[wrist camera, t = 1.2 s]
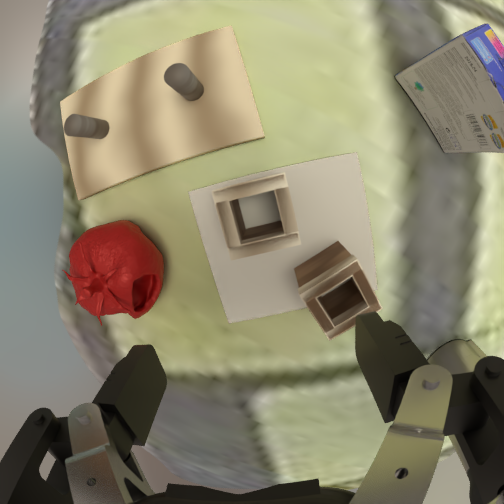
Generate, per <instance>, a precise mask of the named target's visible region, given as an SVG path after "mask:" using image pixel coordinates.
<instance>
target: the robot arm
mask: <svg viewBox="0 0 504 504" xmlns="http://www.w3.org/2000/svg"><path fill="white" fill-rule="evenodd" d="M355 350H356V357H357V361H358V363H359V366H360V368H361V370H362V372H363V374H364V376H365V379H366V381H367V383H368V385H369V388H370V390H371V392H372V394H373V397H374V399H375V401H376V403H377V406H378V408H379V410H380V413H381V415H382V417H383V420H384V422H385V423H388V422H391V421H394V422H393V425H392V426H390V428H389V430H388V432H387V434H386V436H385V438H384V441H383V443H382V445H381V447H380V449H379V451H378V453H377V455H376V457H375V459H374V461H373V463H372V465H371V467H370V469H369V471H368V472H367V474H366V476H365V478H364V480H363V481H362V483H361V485H360V487H359V488H358V490H357V492H356V493H354V492H351V491H348V490H344V489H339V488H332V487H320V486H319V480H318V479H313V480H307V481H300V482H293V483H285V484H278V485H275V486H271V487H268V488H264V489H260V490H257V491H253V492H249V493H245V494H232V493H227V492H223V491H219V490H214V489H210V488H207V487H203V486H191V485H179V484H169V483H168V485H167V490H166V492H163V493H157V494H155V493H154V492H153V490H152V489H151V487H150V486H149V484H148V482H147V480H146V478H145V476H144V474H143V472H142V470H141V468H140V466H139V464H138V462H137V459H136V457H135V455H134V453H133V452H132V451H131V448H132V445H139V446H145V443H146V440H147V437H148V434H149V432H150V429H151V426H152V423H153V421H154V418H155V415H156V413H157V410H158V407H159V405H160V402H161V399H162V397H163V394H164V392H165V389H166V385H167V379H166V374H165V372H164V369H163V367H162V365H161V363H160V361H159V358H158V356H157V354H156V351H155V349H154V347H153V346H152V345H134V346H133V347H132V348H131V350H130V351H129V353H128V354H127V356H126V357H124V358H123V359H122V360H121V361H120V362H118V363H117V364H116V365H115V367H114V368H113V370H112V371H111V374H109V376H108V378H107V379H106V380H107V381H105V382H104V384H103V386H102V387H101V389H100V391H99V392H98V394H97V395H96V397H95V398H94V400H93V402H92V403H84V404H81V405H79V406H77V407H76V408H74V409H73V410H72V411H71V412H70V414H69V416H68V417H60V418H56V417H55V415H54V414H53V413H52V411H51V410H50V409H48V408H40V409H37V410H35V411H34V412H33V413H31V414H30V415H29V417H28V418H27V420H26V421H25V423H24V424H23V426H22V428H21V429H20V431H19V432H18V434H17V435H16V437H15V439H14V440H13V442H12V443H11V445H10V447H9V448H8V450H7V452H6V453H5V455H4V457H3V458H2V460H1V462H0V504H422V503H423V501H424V498H425V496H426V493H427V491H428V488H429V486H430V483H431V480H432V478H433V475H434V472H435V469H436V466H437V463H438V459H439V456H440V453H441V449H442V446H443V442H444V436H449V438H450V440H451V442H452V444H453V446H454V448H455V450H456V452H457V454H458V456H459V458H460V460H461V462H462V465H463V467H464V469H465V471H466V473H467V476H468V478H469V481H470V493H469V494H470V502H471V504H504V360H503V359H502V358H499V357H496V356H486V355H485V354H484V353H483V351H482V350H481V349H480V348H479V347H478V346H477V345H476V344H475V343H474V342H473V341H472V340H470V341H467V342H466V341H463V340H454V341H451V342H449V343H447V344H445V345H444V346H442V347H441V348H439V349H438V350H437V351H436V352H435V353H434V354H433V355H432V356H431V357H430V358H429V359H428V360H426V358H425V357H424V356H423V354H422V353H421V352H420V350H419V349H418V348H417V347H416V345H415V344H414V343H413V342H412V341H411V339H410V338H409V336H408V335H406V333H405V331H404V330H403V329H402V327H401V326H400V325H398V324H396V323H394V322H392V321H390V320H389V321H385V322H384V321H383V320H382V319H381V317H380V316H379V315H378V313H377V312H376V311H373V312H369V313H364V314H360V315H357V316H356V319H355ZM47 451H49V453H50V454H51V455H52V456H53V457H54V458H55V459H56V461H55V463H54V465H53V467H52V469H51V471H50V474H49V476H48V478H47V480H46V481H45V480H44V479H43V478H42V477H41V476H40V473H39V467H40V465H41V463H42V460H43V458H44V457H45V455H46V453H47Z"/></svg>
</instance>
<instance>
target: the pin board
mask: <svg viewBox="0 0 504 504" xmlns="http://www.w3.org/2000/svg"><path fill="white" fill-rule="evenodd" d="M60 104H61V113H62V121H63V128H64V134H65V140H66V146H67V152H68V157H69V162H70V167H71V171H72V176H73V180H74V184H75V188H76V192H77V196H78V200H82V199H86V198H88V197H90V196H92V195H94V194H97V193H99V192H101V191H104V190H106V189H108V188H111V187H113V186H116V185H118V184H121V183H123V182H126V181H128V180H131V179H133V178H136V177H138V176H141V175H144V174H146V173H149V172H152V171H155V170H157V169H160V168H163V167H166V166H169V165H172V164H175V163H178V162H181V161H184V160H187V159H190V158H193V157H196V156H199V155H203V154H206V153H209V152H213V151H216V150H220V149H223V148H227V147H230V146H234V145H238V144H242V143H246V142H249V141H253V140H258V139H262V138H265V136H264V133H263V129H262V125H261V122H260V118H259V114H258V111H257V107H256V104H255V100H254V97H253V93H252V90H251V86H250V83H249V80H248V76H247V73H246V70H245V66H244V63H243V60H242V56H241V53H240V50H239V47H238V44H237V41H236V37H235V34H234V31H233V28H232V26H228V27H224V28H220V29H216V30H213V31H209V32H206V33H203V34H199V35H196V36H193V37H190V38H187V39H184V40H181V41H179V42H176V43H173V44H170V45H168V46H165V47H163V48H160V49H158V50H155V51H153V52H151V53H148V54H146V55H144V56H141V57H139V58H137V59H135V60H133V61H131V62H129V63H126V64H124V65H122V66H120V67H118V68H116V69H114V70H113V71H111V72H109V73H107V74H105V75H103V76H101V77H100V78H98V79H96V80H94V81H93V82H91V83H89V84H88V85H86V86H84V87H83V88H81V89H79V90H78V91H76V92H75V93H73V94H71V95H70V96H68V97H67V98H65V99H64V100H62V101H61V102H60Z"/></svg>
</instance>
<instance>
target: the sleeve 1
mask: <svg viewBox="0 0 504 504" xmlns="http://www.w3.org/2000/svg"><path fill="white" fill-rule="evenodd" d="M272 190H274V192H275V196H276V200H277V205H278V209H279V213H280V217H281V221H276V222H272V223H268V224H264V225H259V226H255V227H251V228H247V229H246V228H245V224H244V220H243V216H242V212H241V209H240V205H239V201H238V199H239V198H243V197H247V196H251V195H255V194H259V193H263V192H268V191H272ZM212 195H213V199H214V202H215V206H216V210H217V213H218V217H219V220H220V224H221V227H222V231H223V235H224V238H225V242H226V245H227V249H228V252H229V256H230V259H231V261H232V260H236V259H240V258H245V257H249V256H254V255H258V254H262V253H267V252H271V251H275V250H280V249H284V248H288V247H293V246H297V245H301V240H300V236H299V231H298V227H297V222H296V218H295V213H294V209H293V204H292V200H291V196H290V192H289V188H288V183H287V179H286V175H285V172H283V173H279V174H275V175H270V176H266V177H262V178H258V179H254V180H250V181H246V182H242V183H238V184H234V185H230V186H227V187H223V188H219V189H216V190H213V191H212Z"/></svg>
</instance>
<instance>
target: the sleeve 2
mask: <svg viewBox="0 0 504 504" xmlns="http://www.w3.org/2000/svg"><path fill="white" fill-rule="evenodd" d="M294 271H295V274H296V278H297V282H298V286H299V288H298V293H299V296H300V297H301V299H302V300H303V302H304V303H305V305H306V306H307V308H308V309H309V311H310V312H311V314H312V315H313V317H314V318H315V320H316V321H317V323H318V324H319V326H320V327H321V329H322V330H323V332H324V333H325V335H326V336H327V338H328V339H329V341H330V340H332V339H334V338H335V337H337V336H339V335H341V334H342V333H344V332H346V331H347V330H349V329H351V328H352V327H354V326H355V319H356V316H357V315H360V314H364V313H369V312H373V311H376V312H378V311H380V310H381V309H383V308H382V306H381V304H380V302H379V300H378V298H377V296H376V294H375V292H374V290H373V288H372V286H371V284H370V282H369V280H368V278H367V276H366V274H365V272H364V270H363V269H362V267H361V265H360V263H359V261H358V259H357V258H356V257H355V256H354V255H353V254H352V255H351V254H350V253H349V252H348V251H347V249H346V248H345V247H344V246H343V245H342V244H341V243H340V242H339V241H337V242H335V243H334V244H332V245H331V246H329V247H327V248H326V249H324V250H323V251H321V252H320V253H318V254H316V255H315V256H313V257H312V258H310V259H308V260H307V261H305V262H304V263H302V264H300V265H299V266H297V267H295V268H294ZM349 278H350V280H349V281H347V282H345V283H344V284H342V285H341V286H339V287H337V288H336V289H334V290H333V291H331V292H329V293H328V294H326V295H324V296H323V297H322V296H321V295H323V294H324V293H326V292H328V291H329V290H331V289H333V288H334V287H336V286H337V285H339V284H341V283H342V282H344V281H345V280H347V279H349Z"/></svg>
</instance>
